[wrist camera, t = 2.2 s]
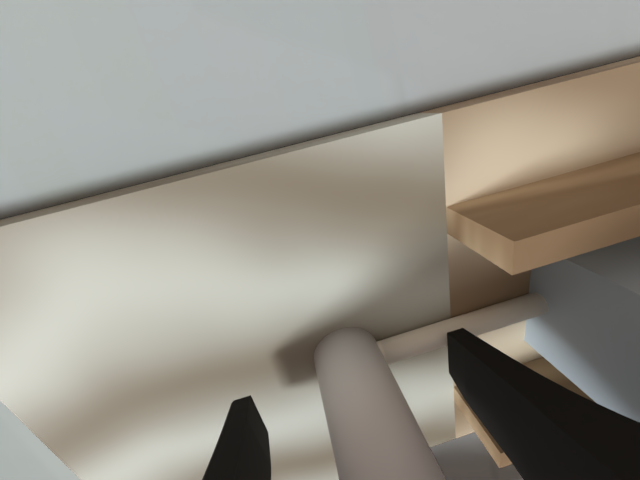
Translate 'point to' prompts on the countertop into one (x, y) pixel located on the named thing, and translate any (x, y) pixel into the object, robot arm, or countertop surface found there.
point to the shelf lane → (305, 275)
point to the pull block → (540, 333)
